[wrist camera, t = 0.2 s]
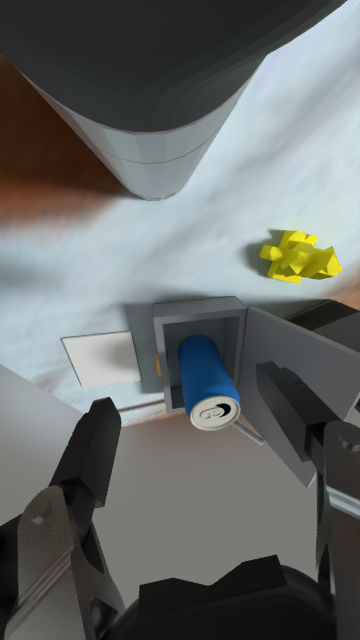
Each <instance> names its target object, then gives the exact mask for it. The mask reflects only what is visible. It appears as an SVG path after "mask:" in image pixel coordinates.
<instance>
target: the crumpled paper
mask: <svg viewBox="0 0 360 640" xmlns="http://www.w3.org/2000/svg"><path fill="white" fill-rule="evenodd" d="M317 239H318V237H317V236H314V235H307V234H305V233H303V232H300V231H287V230H285V232H284V234H283V237H282V239H281V242H280V244H279V246H278V247H275V246H269V245H263V248H262V250H261V253H260V256H259V257H261V258H264V259H268V260H272V264H271V266H270V268H269V271H268V273H267V276H269V277H271V278H275V279H280V280H283V281H287V282H294V283H298V284H299V283H300V281H301V279H302V277H306V278H307V277H308V278H312V279H319V280H321V279H325V278H329V277H333V276H336V275H337V274H338V273H339V272H341V271H342V268H341V266H340V264H339V262H338V260H337V257H336V254H335V252H334V249H333V247H332V246H331V247H329V248H327V249H325V250H321V249H317V248H315V249H314V245H315V243H316V241H317Z"/></svg>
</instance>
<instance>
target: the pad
mask: <svg viewBox="0 0 360 640" xmlns="http://www.w3.org/2000/svg"><path fill="white" fill-rule="evenodd" d="M62 340H63V343H64V345H65V347H66V350H67V352H68V354H69V357H70V359H71V361H72V364H73V366H74V368H75V371H76V373H77V375H78V378H79V380H80V383H81V385H82V387H83V388H86V387H94V386H102V385H111V384H119V383H127V382H136V381H141V375H140V371H139V366H138V361H137V357H136V352H135V348H134V343H133V338H132V334H131V331H124V332H114V333H104V334H95V335H85V336H76V337H66V338H63V339H62Z"/></svg>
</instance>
